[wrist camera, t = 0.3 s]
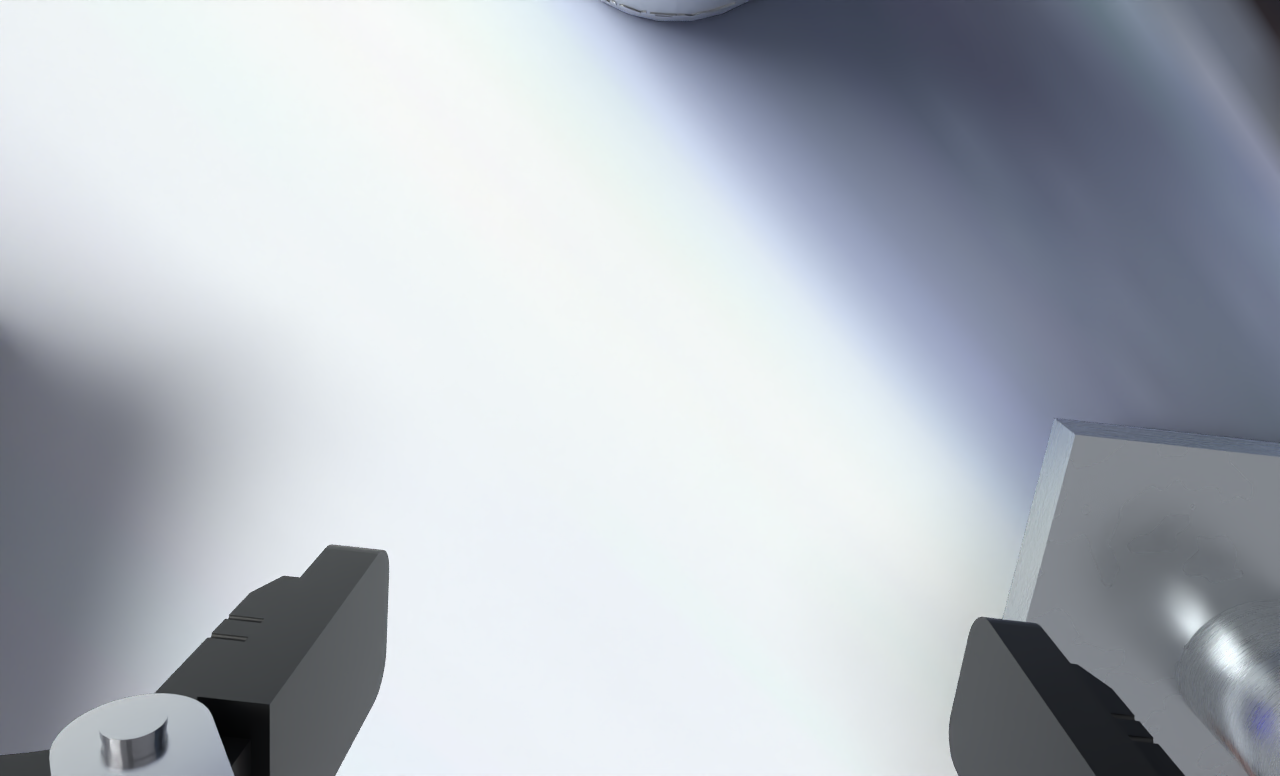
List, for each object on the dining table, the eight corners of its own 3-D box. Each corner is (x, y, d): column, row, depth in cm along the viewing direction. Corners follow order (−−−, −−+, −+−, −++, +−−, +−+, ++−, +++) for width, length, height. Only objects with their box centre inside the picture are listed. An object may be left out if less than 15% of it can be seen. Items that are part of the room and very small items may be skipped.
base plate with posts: (1018, 389, 30) (1202, 534, 20) (1453, 437, 30) (1871, 607, 20) (905, 853, 36) (1002, 1155, 26) (1270, 893, 36) (1516, 1212, 26)
